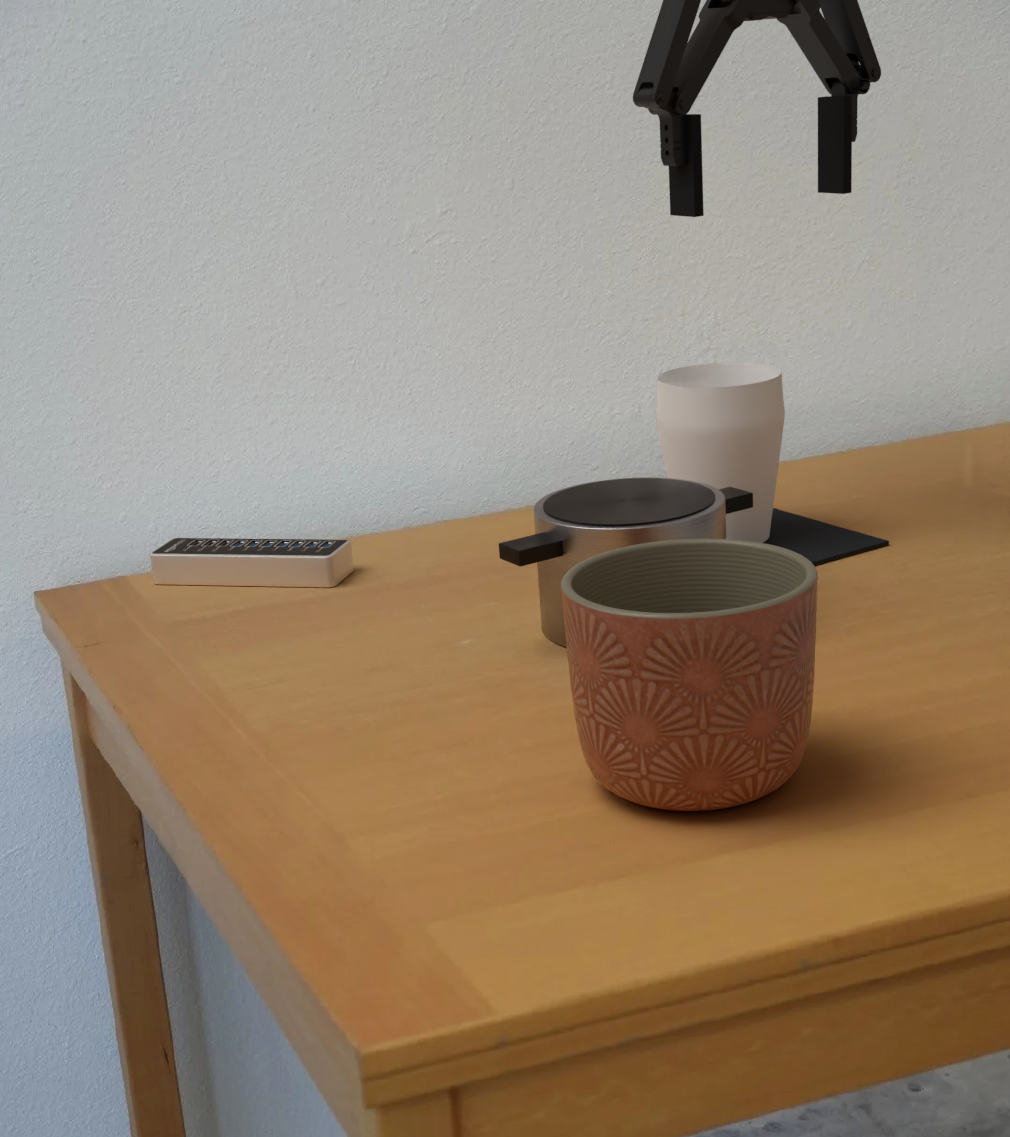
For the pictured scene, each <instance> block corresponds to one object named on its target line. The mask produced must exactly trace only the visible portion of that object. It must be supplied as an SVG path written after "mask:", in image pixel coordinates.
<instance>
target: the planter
mask: <svg viewBox="0 0 1010 1137" xmlns="http://www.w3.org/2000/svg"><path fill="white" fill-rule="evenodd" d="M818 575H819V574H818V570H817V568H816V565H813V564H812V562H811V561H809V560H808V559H807V558H805V557H804V556H802V555H800V554H798V553H796V552H794V551H791V550H788V549H785V548H782V547H778V546H774V545H770V544H764V543H759V542H752V541H743V540H731V539H680V540H667V541H658V542H650V543H643V544H637V545H632V546H627V547H623V548H618V549H614V550H611V551H607V552H604V553H601V554H598V555H595V556H593V557H590V558H588V559H586V560H584V561H582V562H580V563H578V564H577V565H575V566H574V567H572V568H571V569H570V570H569V571H568V572H567V573H566V574H565V576H564V577H563V579H562V582H561V592H562V602H563V613H564V623H565V634H566V644H567V647H566V654H567V662H568V663H567V664H568V672H569V682H570V690H571V698H572V705H573V715H574V720H575V725H576V731H577V736H578V740H579V744H580V748H581V752H582V755H583V759H584V760H585V763H586V766H587V767H588V769H589V771H590V772H591V775H592V776H593V777H594V778H595V779H596V780H597V781H598V783H599V784H601V785H602V786H603V788H605V789H606V790H608V791H609V792H611V793H613V794H614V795H616V796H618V797H620V798H621V799H624V800H626V801H629V802H631V803H633V804H638V805H640V806H644V807H648V808H653V809H659V810H666V811H676V812H677V811H680V812H701V811H714V810H722V809H727V808H732V807H737V806H741V805H744V804H748V803H751V802H754V801H755V800H758V799H760V798H763V797H764V796H767V795H769V794H771V793H772V792H775V791H776V790H777V789H779V788H780V787H781V786H783V785H784V784H785V783H786V782H787V781H788V780H790V779H791V778H792V776H793V775H794V773H796V771H797V770H798V768H799V767H800V765H801V762H802V760H803V758H804V755H805V752H806V748H807V744H808V740H809V735H810V728H811V722H812V721H811V720H812V712H813V701H814V685H815V669H816V668H815V667H816V642H817V638H816V637H817V611H818V610H817V609H818V608H817V607H818V580H819V578H818V577H819V576H818Z"/></svg>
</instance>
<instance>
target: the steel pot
mask: <svg viewBox="0 0 1010 1137" xmlns="http://www.w3.org/2000/svg"><path fill="white" fill-rule="evenodd" d="M752 507H753V493H751V492H747V491H744V490H740V489H737V488H733V487H727V488H722V489H717V488H715V487H713V486H710V485H707V484H704V483H700V482H695V481H690V480H683V479H673V478H667V477H625V478H623V477H622V478H612V479H605V480H604V479H602V480H598V481H597V480H596V481H591V482H585V483H581V484H575V485H572V486H568V487H567V486H566V487H564V488H561V489H558V490H556V491H553V492H550V493H549V494H547V495H545V496H543V497H541V498H540V499H539V500H538V501H536V502H535V503H534V506H533V523H534V533H535V534H531V535H526V536H523V537H519V538H515V539H510V540H507V541H506V540H505V541H502V542H499V543H498V553H499V559H500V560H503V561H505V562H507V563H509V564H513V565H514V566H517V567H524V566H528V565H533V564H535V563H536V565H537V566H536V567H537V579H538V580H537V581H538V582H537V583H538V593H539V594H538V595H539V608H540V624H541V630H542V633H543V635H544V636H545V637H546V638H547V639H548V640H550V641H551V642H553V643H555V644H557V645H559V646H562V647H565V648H567V644H566V634H565V623H564V613H563V602H562V592H561V582H562V579H563V577H564V576H565V574H566V573H567V572H568V571H569V570H570V569H571V568H572V567H574V566H575V565H577V564H578V563H580V562H582V561H584V560H586V559H588V558H590V557H593V556H595V555H598V554H601V553H604V552H607V551H611V550H614V549H618V548H623V547H627V546H632V545H637V544H643V543H650V542H658V541H667V540H680V539H726V514H729V513H733V512H737V511H741V510H745V509H748V508H752Z"/></svg>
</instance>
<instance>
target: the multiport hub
mask: <svg viewBox="0 0 1010 1137" xmlns="http://www.w3.org/2000/svg"><path fill="white" fill-rule="evenodd" d="M353 558H354V557H353V551H352V542H351V540H350V539H340V538H338V539H337V538H331V539H330V538H249V537H248V538H245V537H244V538H243V537H242V538H239V537H237V538H236V537H234V538H233V537H231V538H229V537H224V538H223V537H174V538H172V539H170V540H169V541H167V542H166V543H164V544H163V545H161V546H159V547H158V548H156V549H154V550H153V551H151V552H150V553H149V560H150V566H151V573H152V579H153V584H155V585H170V586H172V585H176V586H178V585H179V586H227V587H229V586H231V587H276V588H277V587H278V588H279V587H281V588H282V587H284V588H285V587H286V588H288V587H289V588H334V587H336V586H337V585H340V583H341V582H342V581H343V580H345V579H346V578H347V577H348V576H349V575H351V574H352V573H353V572H355V569H354V559H353Z"/></svg>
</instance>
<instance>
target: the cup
mask: <svg viewBox="0 0 1010 1137" xmlns="http://www.w3.org/2000/svg"><path fill="white" fill-rule="evenodd" d="M656 392H657V395H656V396H657V399H656V400H657V401H656V405H657V406H656V425H657V431H658V438H659V443H660V448H661V454H662V460H663V465H664V470H665V476H666V477H665V478H673V479H683V480H690V481H695V482H700V483H704V484H707V485H710V486H713V487H715V488H717V489H722V488H727V487H733V488H737V489H740V490H744V491H747V492H751V493H753V507H752V508H748V509H745V510H741V511H737V512H733V513H729V514H726V539H731V540H743V541H752V542H759V543H763V542H765V541H766V540H767V539H768V538H769V535H770V527H771V519H772V512H773V508H774V503H775V496H776V487H777V481H778V474H779V473H778V472H779V464H780V456H781V455H780V454H781V449H782V441H783V433H784V425H785V416H786V412H785V403H784V402H785V401H784V389H783V372H782V369H780V367H777V366H774V365H770V364H766V363H757V362H741V361H740V362H735V361H734V362H732V361H731V362H728V361H727V362H711V363H701V364H692V365H686V366H681V367H677V368H673V369H670V370H666V371H664V372H662V373H660V374H659V375H658V376H657V391H656Z"/></svg>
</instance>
